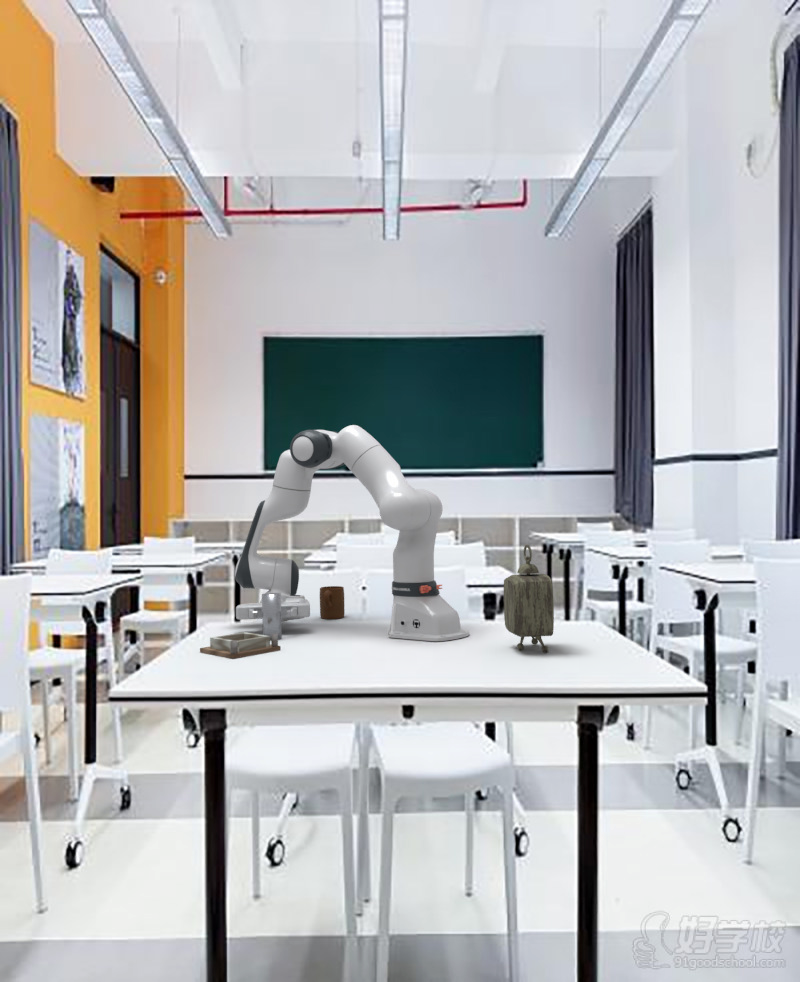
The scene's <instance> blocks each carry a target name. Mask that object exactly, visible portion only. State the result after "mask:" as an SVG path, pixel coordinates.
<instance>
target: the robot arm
mask: <svg viewBox="0 0 800 982" xmlns="http://www.w3.org/2000/svg"><path fill="white" fill-rule="evenodd" d="M289 445H290V446H289V449H287V450H284V451H283V452H282V453H280V456H279V458H278V462H277V465H276V468H275V471H274V477H273V483H272V488H271V491H270V494H269V495H268V496H267V498H266V499H264V500H262V501H260V503H259V504H258V506H257V508H256V510H255V513H254V516H253V518H252V521H251V524H250V527H249V530H248V534H247V537H246V540H245V543H244V546H243V549H242V551H241V552H242V553H241V555H240V556H239V558H238V561H237V563H236V565H235V569H234V580H235V582H236V583H238V584H239V587H242V588H243V589H257V590H266V592H265V593H281V623H285V622H287V621H294V620H301V619H305V618H309V617H310V616H311V604H310V601H309V600H308V599H306V597H305V595H300V594H297V592H298V588H299V583H300V570H299V569H300V568H299V566H298V564H297V563H296V562H295V560H294V559H291V558H290V559H289V558H284V557H283V558H282V557H275V556H267V555H261V554H258V550H259V549H258V548H259V546H260V542H261V539H262V536H263V533H264V531H265V528H266V527H267V526H268V525H271V524H272V523H275V522H278V521H282V520H283V521H285V520H288V519H291V518H295V517H298V515H300V514H302V513H303V512H304V511H305V510H306V508H308V505H309V501H310V497H311V492H312V483H313V477H314V474H315V473H316V472H317V471H319V470H321V471H324V470H331V469H332V470H333V469H337V468H339V467H342V466H344V465H345V466H346V467H347V468H348V469H349V470H350V471H351V473H352V474H353V475H354V476H355V477H356V479H358V481H359V482H360V483H361V484H362V486H364V487H365V489H366V490H367V491H368V492H369V494H370V495H371V497H372V499H373V500H374V502H375V504H376V506H377V507H378V509H379V517H380V519H381V520H382V522H383V523H384V525H386V526H387V527H388V528H391V529H393V530H396V531H399V533H398V538H397V542H396V544H395V548H394V549H393V552H392V568H393V569H392V572H393V573H392V575H393V577H392V578H393V581H392V582H391V595H392V597H393V600H392V601H393V602H392V606H391V607H392V609H391V619H390V626H389V630H388V637H389V638H393V639H406V640H413V641H414V640H416V641H428V642H445V641H452V640H458V639H461V638H463V639H464V638H466V637H468V636H470V631H469V630H466V629H465V630H464V629H461V621H460V615H459V613H458V611H457V610H456V609H455V608H454V607H452V606H451V605H450V604H449V603H448V602H447V600H445V599H444V598H443V597H442V596H441V593H440V591H439V590H442V589H443V584H437V582H436V580H435V569H434V568H435V559H434V558H435V556H434V555H435V545H436V538H437V532H438V527H439V526H438V525H439V521H440V519H441V517H442V514H443V504H442V501H441V499H440V498H439V496H437V494H434V493H433V492H431V491H430V490H428V489H422V488H421V489H420V488H419V489H418V488H417V489H416V488H414V487H413V486H411V485H410V483H408V481H407V480H406V478H405V476H404V474H403V472H402V469H401V465H400V464H399V463H398V462H397V461H396V460H395V458H394V457H393V456H392V455H391V454H390V453H389V452H388V451H387V450H386V449H385V448H384V446H382V445H381V443H380V442H379V441H378V440H377V439H375V438H374V436H372V435H371V434H370V433H369V432H367V430H365V429H363V427H361V426H359V425H356V424H352V425H351V424H350V425H348V426H345V427H344V428H342V429H341V430H340V431H339V432H338V431H330V430H325V429H306V430H302V431H300V432H298V433H297V434H296V435H294V436H293V438H292V440H291V442H290V444H289ZM235 617H236V620H241V621H242V620H262V598H260V601H259V602H253V603H252V602H249V603H248V602H247V603H241V604H238V605H237V606H236V607H235Z"/></svg>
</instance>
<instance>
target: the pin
mask: <svg viewBox="0 0 800 982" xmlns="http://www.w3.org/2000/svg"><path fill="white" fill-rule="evenodd" d="M261 599H262V619H261V621H262V635H266V636H270V642H271V634H275V633H276V634H278V641H279V640H282V639H283V638H282V637H283V635H282V633H283V632H282V631H283V630H282V625H283V623H282V622H281V593H266V592H265V593H262V594H261Z"/></svg>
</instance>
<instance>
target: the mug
mask: <svg viewBox="0 0 800 982" xmlns="http://www.w3.org/2000/svg"><path fill="white" fill-rule="evenodd" d="M319 613H320V614H319V616H320V618H321V619H323V620H339V619H343V618H345V588H344V586H340V585H336V586H335V585H334V586H333V585H330V586H328V585H327V586H321V587H319Z"/></svg>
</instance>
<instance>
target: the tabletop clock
mask: <svg viewBox="0 0 800 982" xmlns="http://www.w3.org/2000/svg"><path fill="white" fill-rule="evenodd" d="M531 548H532V547H531V546H530V545H529V544H525V545H524V546H523V557H524V558H523V559H524V561H525V563H523V564H521V565H520V566H519V568H518V569H517V574H511V575H510V576H507V577H506V578H504V579H503V615H504V626H505V628H506V630H507V631H508V632H509V633H511V634H513V635H515V636H517V637H519V638H520V640H519V641H520V642H519V643H517V645H516V648H517V649H518V650H520V651H523V650H524V647H525V645H524V639H525V638H527V637H531V638H532V639H531V641H530V642H531V644H532V645H535V646H536V645H538V644H540V646H541V652H542V653H543V654H545V653H548V652H549V646H547V645H545V644H544V641H543V639H542V637H551V636H553V634H554V630H555V629H554V628H555V627H554V624H555V623H554V622H555V619H554V616H555V614H554V613H555V611H554V610H555V609H554V606H555V605H554V590H553V581H552V579H551V577H550V576H549V575H547V574H546V573H540V572H539V569H538V567H537V566H536V565H535V564H532V563H531V562H532V557H533V556H532V554H533V553H532V549H531ZM527 549H528V552H529V556H528V555H527ZM538 642H539V643H538Z"/></svg>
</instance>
